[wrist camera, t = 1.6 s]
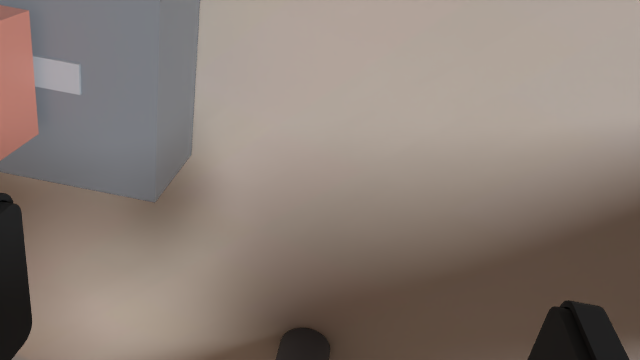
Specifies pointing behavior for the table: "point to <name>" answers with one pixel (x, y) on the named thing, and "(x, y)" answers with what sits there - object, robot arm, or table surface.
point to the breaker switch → (16, 81)
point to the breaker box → (110, 93)
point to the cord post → (303, 345)
